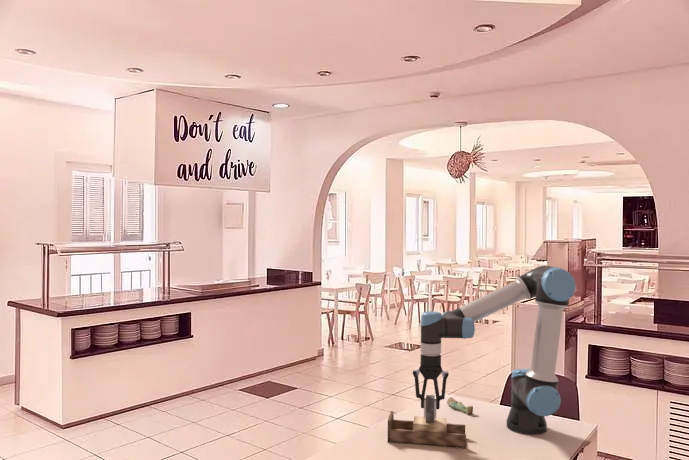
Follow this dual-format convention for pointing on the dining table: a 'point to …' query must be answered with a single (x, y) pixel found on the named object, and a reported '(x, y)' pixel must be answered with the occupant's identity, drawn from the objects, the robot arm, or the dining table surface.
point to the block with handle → (430, 419)
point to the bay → (425, 434)
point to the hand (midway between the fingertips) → (430, 417)
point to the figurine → (460, 406)
